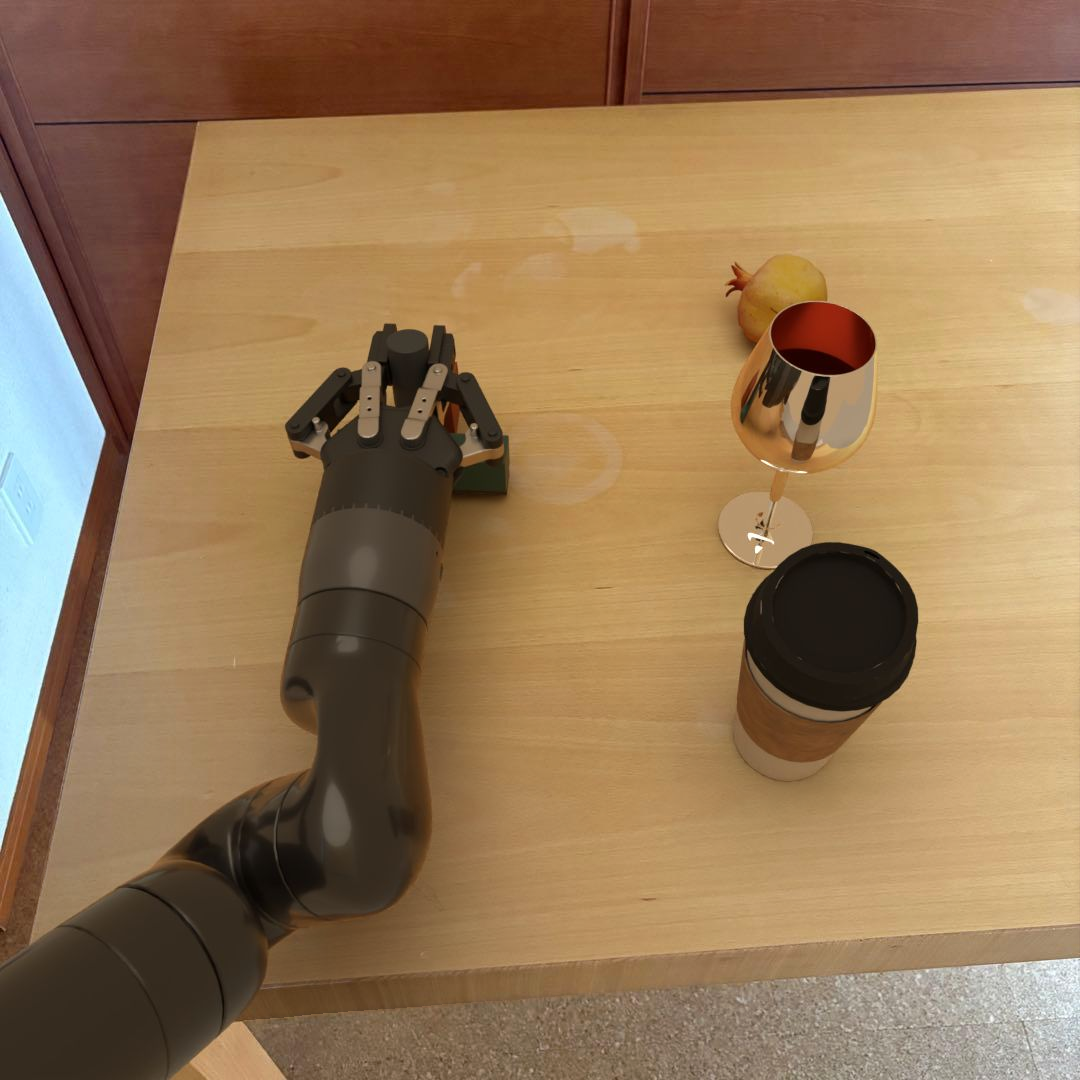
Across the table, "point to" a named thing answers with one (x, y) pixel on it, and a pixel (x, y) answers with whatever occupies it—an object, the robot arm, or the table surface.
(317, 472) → the table surface
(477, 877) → the table surface
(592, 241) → the table surface
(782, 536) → the wineglass
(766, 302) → the fruit
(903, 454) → the table surface
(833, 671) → the coffee cup
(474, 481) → the wiper
